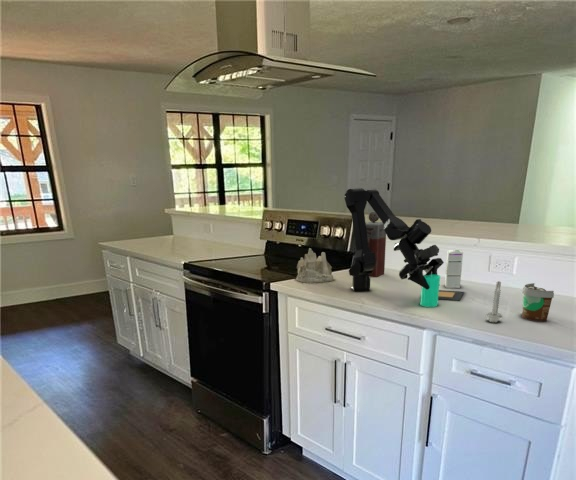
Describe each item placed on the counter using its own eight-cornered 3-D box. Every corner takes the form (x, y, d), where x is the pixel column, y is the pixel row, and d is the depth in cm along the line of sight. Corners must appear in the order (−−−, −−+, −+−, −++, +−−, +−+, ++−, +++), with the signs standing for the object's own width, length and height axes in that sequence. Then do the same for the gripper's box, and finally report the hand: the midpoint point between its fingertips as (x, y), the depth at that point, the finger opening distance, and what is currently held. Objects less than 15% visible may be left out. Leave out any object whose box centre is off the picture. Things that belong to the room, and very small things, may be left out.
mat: (421, 298, 192) (421, 296, 192) (427, 290, 204) (428, 289, 204) (459, 300, 187) (459, 299, 187) (464, 292, 198) (464, 291, 198)
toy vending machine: (356, 276, 234) (358, 212, 223) (367, 272, 242) (369, 210, 231) (374, 278, 229) (376, 213, 218) (384, 273, 237) (387, 211, 226)
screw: (482, 321, 162) (490, 318, 165) (496, 324, 158) (504, 321, 161) (487, 281, 157) (495, 278, 160) (502, 283, 153) (510, 280, 156)
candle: (438, 303, 184) (441, 270, 180) (436, 307, 179) (439, 273, 175) (421, 302, 186) (423, 269, 182) (419, 306, 181) (422, 272, 176)
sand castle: (336, 281, 224) (334, 246, 219) (299, 284, 222) (297, 249, 217) (328, 276, 239) (326, 244, 234) (294, 280, 237) (291, 247, 232)
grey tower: (460, 288, 206) (464, 251, 200) (445, 288, 207) (448, 251, 201) (458, 285, 211) (462, 249, 205) (444, 285, 212) (447, 249, 206)
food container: (511, 313, 170) (515, 283, 166) (528, 312, 170) (533, 282, 166) (530, 323, 158) (535, 292, 154) (549, 322, 159) (554, 291, 155)
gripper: (407, 240, 171) (431, 277, 168) (441, 235, 182) (464, 269, 178) (388, 261, 180) (411, 296, 177) (422, 254, 191) (444, 288, 187)
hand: (433, 287), depth 179 cm, fingers closed on candle, 5 cm apart
